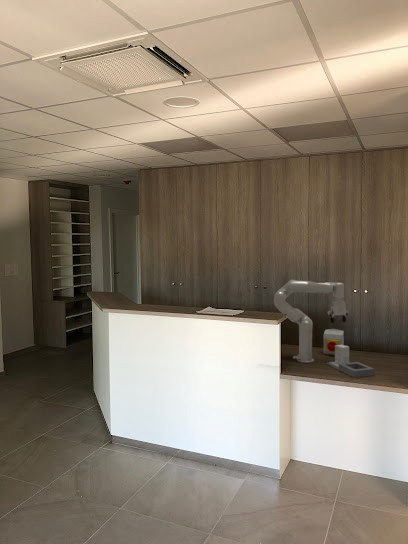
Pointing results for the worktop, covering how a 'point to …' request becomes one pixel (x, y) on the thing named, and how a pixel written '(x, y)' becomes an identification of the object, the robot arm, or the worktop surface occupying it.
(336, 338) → the electrical switch box
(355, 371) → the case
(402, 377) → the worktop surface
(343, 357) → the small box
